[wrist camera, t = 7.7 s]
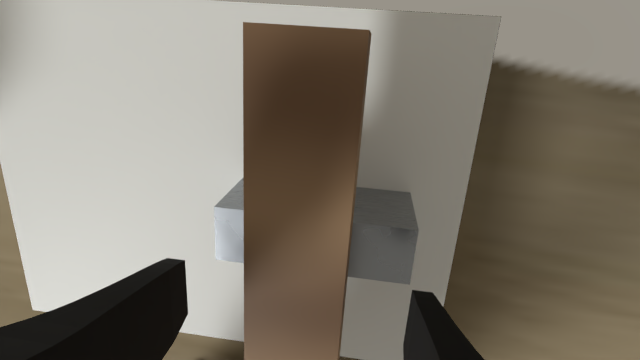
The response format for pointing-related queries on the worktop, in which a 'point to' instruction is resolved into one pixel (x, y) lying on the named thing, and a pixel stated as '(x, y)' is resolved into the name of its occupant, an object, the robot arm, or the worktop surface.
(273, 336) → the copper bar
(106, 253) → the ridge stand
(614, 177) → the worktop surface
